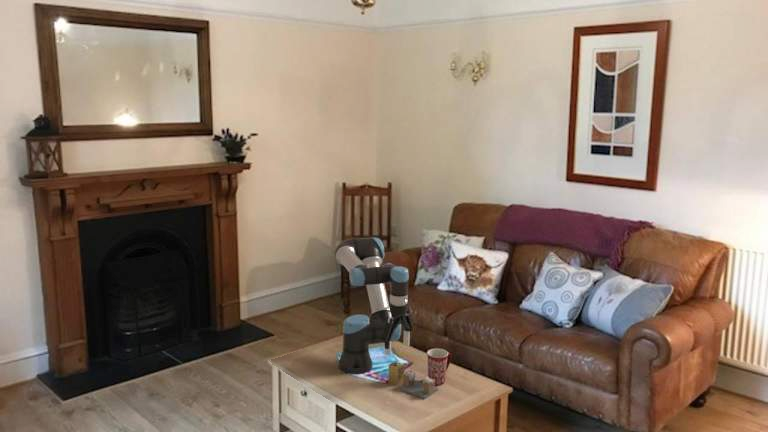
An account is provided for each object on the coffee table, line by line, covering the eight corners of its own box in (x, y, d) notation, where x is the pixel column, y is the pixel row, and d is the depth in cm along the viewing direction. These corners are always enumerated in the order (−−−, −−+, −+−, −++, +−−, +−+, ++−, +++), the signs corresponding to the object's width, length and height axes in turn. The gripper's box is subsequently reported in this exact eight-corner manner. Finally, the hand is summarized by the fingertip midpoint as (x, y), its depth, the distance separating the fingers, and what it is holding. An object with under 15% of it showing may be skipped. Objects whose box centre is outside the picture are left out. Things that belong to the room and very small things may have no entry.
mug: (436, 388, 271) (437, 359, 268) (421, 380, 278) (422, 351, 275) (457, 380, 279) (458, 351, 276) (442, 372, 286) (443, 344, 283)
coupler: (388, 381, 276) (388, 364, 274) (394, 378, 280) (394, 360, 278) (397, 385, 273) (397, 367, 271) (403, 381, 277) (404, 363, 275)
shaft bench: (399, 389, 269) (399, 374, 268) (412, 381, 277) (413, 366, 276) (424, 399, 262) (425, 383, 260) (438, 390, 269) (438, 375, 268)
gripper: (388, 313, 257) (386, 362, 262) (422, 297, 277) (420, 343, 281) (373, 309, 261) (372, 357, 266) (408, 293, 281) (406, 338, 285)
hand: (397, 350), depth 274 cm, fingers open, 13 cm apart
